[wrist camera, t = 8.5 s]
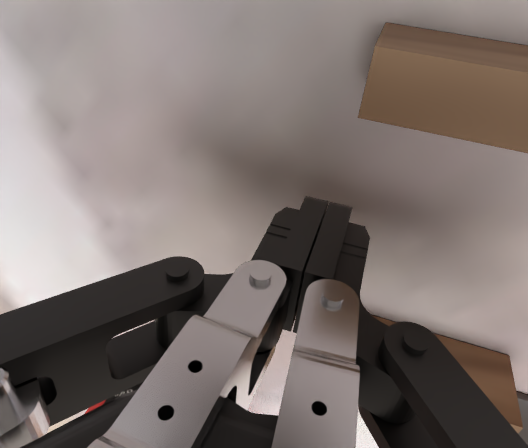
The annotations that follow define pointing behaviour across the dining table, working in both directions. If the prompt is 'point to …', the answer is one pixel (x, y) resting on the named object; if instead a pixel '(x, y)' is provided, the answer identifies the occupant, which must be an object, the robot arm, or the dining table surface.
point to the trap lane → (457, 126)
